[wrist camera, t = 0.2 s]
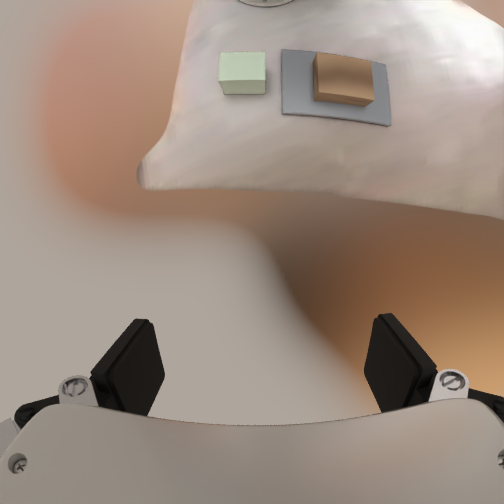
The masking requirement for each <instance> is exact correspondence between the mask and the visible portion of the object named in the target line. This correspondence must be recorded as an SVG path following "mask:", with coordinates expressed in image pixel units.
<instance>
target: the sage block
mask: <svg viewBox="0 0 504 504" xmlns="http://www.w3.org/2000/svg"><path fill="white" fill-rule="evenodd" d="M218 81H219V83H220V86H221V88H222V90H223V92H224V94H265V52H226V53H220V56H219V76H218Z"/></svg>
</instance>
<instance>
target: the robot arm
mask: <svg viewBox="0 0 504 504" xmlns="http://www.w3.org/2000/svg"><path fill="white" fill-rule="evenodd" d="M239 1H241V2H243V3H246V4H250V5H254V6H265V7H268V6H277V5H282V4H285V3H288V2H290V1H292V0H239ZM91 374H92V376H91V377H90V378H87V377H85V376H81V375H77V376H72V377H69V378H67V379H65V380H64V381H63V382H62V383H61V384H60V386H59V390H58V391H59V395H57V396H53V397H50V398H46V399H42V400H39V401H35V402H32V403H28V404H25V405H22V406H21V407H20V408H19V409H18V410H17V411H16V413H15V417H14V419H15V420H12V419H11V418H9V419H7V420H5V421H3V422H1V423H0V504H504V398H503V397H501V396H497V395H493V394H489V393H485V392H481V391H477V390H473V389H469V381H468V378H467V377H466V376H465V375H464V374H463V373H462V372H460V371H458V370H454V369H445V370H442V371H440V372H437V370H436V364H435V363H434V362H433V361H432V360H431V358H430V357H429V356H428V355H427V353H426V352H425V351H424V350H423V349H422V347H421V346H420V345H419V344H418V343H417V341H416V340H415V339H414V338H413V337H412V336H411V335H410V333H409V332H408V331H407V330H406V329H405V328H404V326H403V325H402V324H401V323H400V322H399V321H398V320H397V318H396V317H395V316H394V315H393V314H392V313H387V314H379V315H378V317H377V318H375V319H374V322H373V327H372V333H371V338H370V343H369V348H368V353H367V358H366V362H365V367H364V374H365V377H366V379H367V381H368V384H369V386H370V388H371V390H372V392H373V394H374V397H375V399H376V401H377V403H378V405H379V408H380V410H381V412H382V413H378V414H372V415H367V416H362V417H355V418H349V419H342V420H335V421H326V422H317V423H305V424H290V425H220V424H204V423H194V422H184V421H176V420H168V419H161V418H155V417H149V416H147V415H148V413H149V411H150V409H151V406H152V404H153V402H154V400H155V398H156V395H157V393H158V391H159V389H160V387H161V385H162V383H163V380H164V377H165V372H164V368H163V364H162V360H161V356H160V352H159V348H158V344H157V339H156V335H155V330H154V326H153V324H152V323H150V322H149V320H148V319H134V320H133V322H132V323H131V324H130V325H129V326H128V327H127V329H126V330H125V331H124V332H123V333H122V335H121V336H120V337H119V338H118V339H117V340H116V342H115V343H114V344H113V345H112V346H111V348H110V349H109V350H108V351H107V353H106V354H105V355H104V356H103V357H102V359H101V360H100V361H99V362H98V363H97V365H96V366H95V367H94V368H93V369H92V371H91Z"/></svg>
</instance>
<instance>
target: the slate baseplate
mask: <svg viewBox="0 0 504 504" xmlns="http://www.w3.org/2000/svg"><path fill="white" fill-rule="evenodd" d="M316 53H317V52H311V51H301V50H287V49H282V51H281V57H282V114H291V115H307V116H319V117H329V118H338V119H346V120H353V121H360V122H367V123H373V124H379V125H384V126H391V110H390V97H389V87H388V78H387V70H386V65H385V64H381V63H377V62H372V61H371V67H372V76H373V86H374V98H375V101H373V102H372V103H370V104H369V105H367V106H366V107H362V106H355V105H349V104H341V103H334V102H325V101H315V100H314V98H313V72H312V62H313V60H314V57H315V55H316ZM319 53H320V52H319ZM327 54H328V53H327ZM334 55H335V54H334ZM340 56H341V55H340ZM346 57H347V56H346ZM352 58H353V57H352ZM357 59H358V58H357ZM362 60H363V59H362ZM367 61H368V60H367Z"/></svg>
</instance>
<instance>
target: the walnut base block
mask: <svg viewBox="0 0 504 504" xmlns="http://www.w3.org/2000/svg"><path fill="white" fill-rule="evenodd" d="M312 72H313V98H314V100H315V101H325V102H334V103H341V104H349V105H355V106H362V107H366V106H367V105H369V104H370V103H372V102H373V101H375V98H374V86H373V76H372V67H371V61H367V60H362V59H357V58H352V57H346V56H340V55H334V54H327V53H319V52H317V53H316V55H315V57H314V60H313V62H312Z"/></svg>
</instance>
